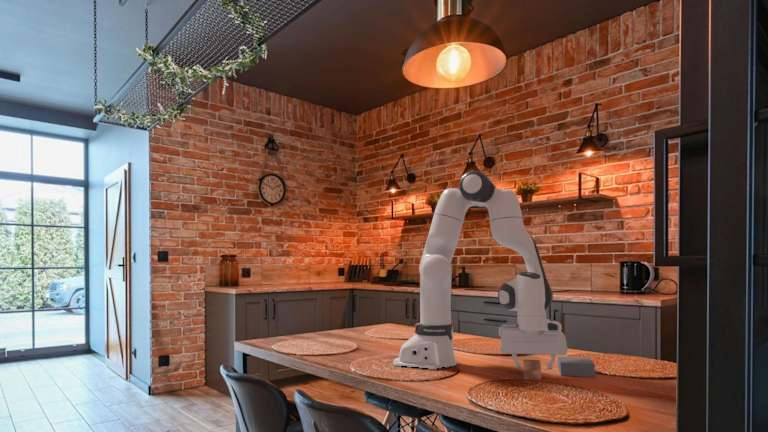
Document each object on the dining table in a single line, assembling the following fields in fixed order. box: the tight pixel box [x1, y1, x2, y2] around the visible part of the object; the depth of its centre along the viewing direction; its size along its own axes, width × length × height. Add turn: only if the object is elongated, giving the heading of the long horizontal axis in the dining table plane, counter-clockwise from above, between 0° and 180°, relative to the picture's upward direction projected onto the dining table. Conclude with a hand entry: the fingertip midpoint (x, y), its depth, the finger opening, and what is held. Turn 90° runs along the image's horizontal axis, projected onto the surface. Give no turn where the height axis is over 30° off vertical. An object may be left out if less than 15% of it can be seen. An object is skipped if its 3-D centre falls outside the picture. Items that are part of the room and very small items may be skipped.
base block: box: [556, 355, 596, 378], centre depth 158 cm, size 10×10×4 cm
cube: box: [522, 359, 542, 381], centre depth 153 cm, size 5×5×5 cm
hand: (534, 368), depth 153 cm, fingers open, 8 cm apart
